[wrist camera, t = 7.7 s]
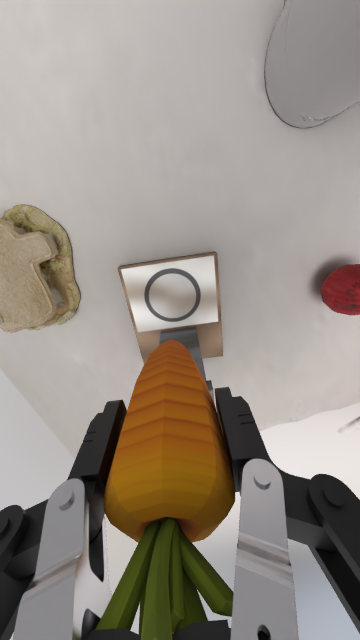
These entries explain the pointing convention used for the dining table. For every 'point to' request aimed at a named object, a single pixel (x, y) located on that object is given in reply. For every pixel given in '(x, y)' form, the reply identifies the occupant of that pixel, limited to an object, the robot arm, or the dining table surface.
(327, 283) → the onion
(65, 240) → the ceramic model
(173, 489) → the carrot
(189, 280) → the dispenser stand
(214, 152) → the dining table surface
